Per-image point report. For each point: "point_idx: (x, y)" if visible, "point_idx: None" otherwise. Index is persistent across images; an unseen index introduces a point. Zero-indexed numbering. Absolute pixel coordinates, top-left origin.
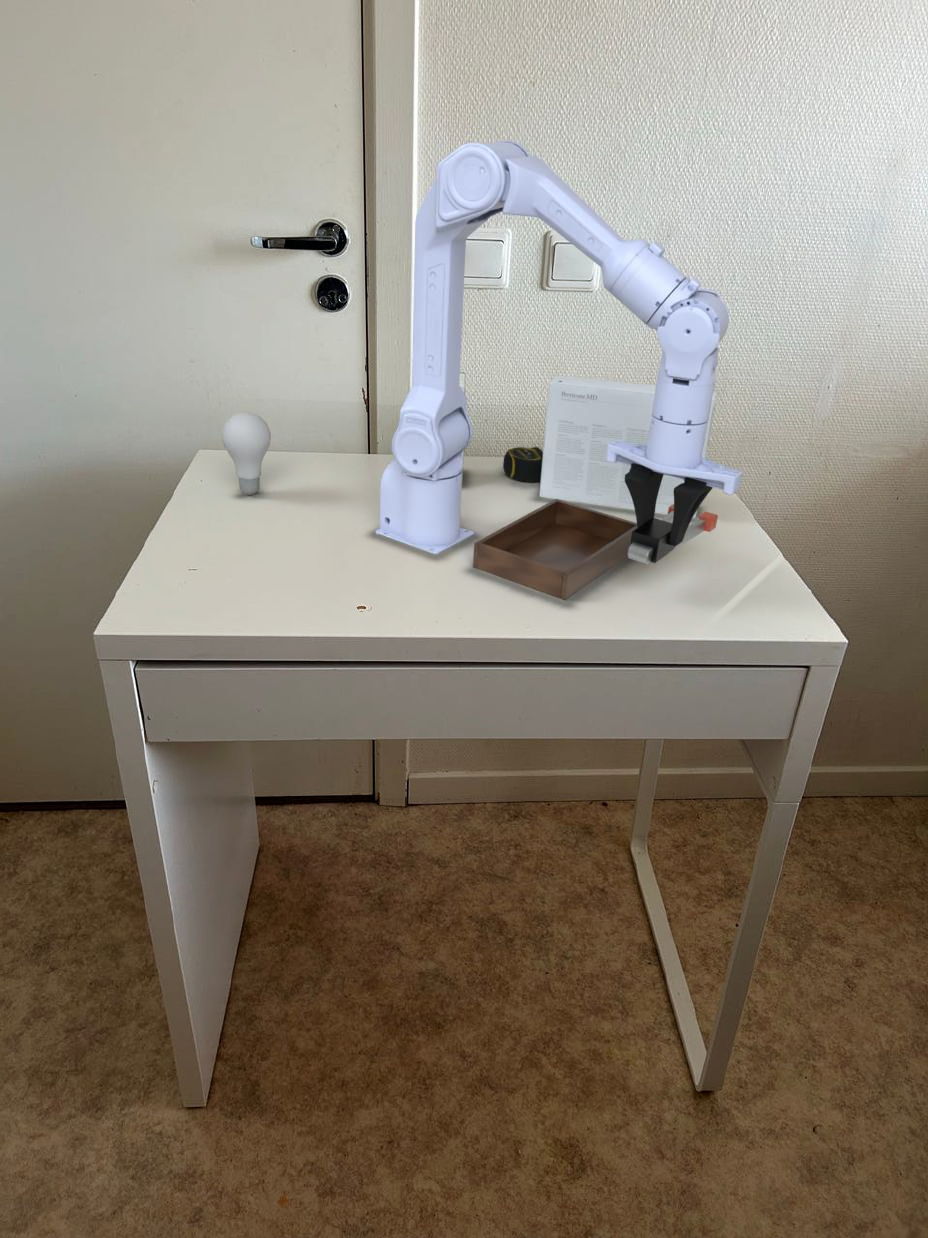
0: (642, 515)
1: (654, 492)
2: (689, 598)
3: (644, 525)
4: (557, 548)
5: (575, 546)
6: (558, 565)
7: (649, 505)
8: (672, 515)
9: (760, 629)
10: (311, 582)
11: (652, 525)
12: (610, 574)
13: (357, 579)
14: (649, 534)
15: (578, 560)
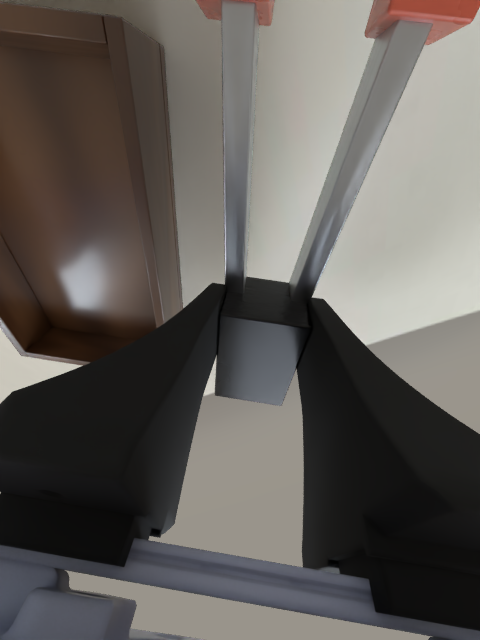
0: (207, 379)
1: (189, 389)
2: (340, 251)
3: (224, 366)
4: (49, 207)
5: (59, 172)
6: (108, 273)
7: (202, 370)
8: (245, 109)
9: (470, 294)
10: (9, 393)
11: (241, 359)
12: (183, 238)
13: (19, 379)
14: (254, 396)
15: (114, 235)
